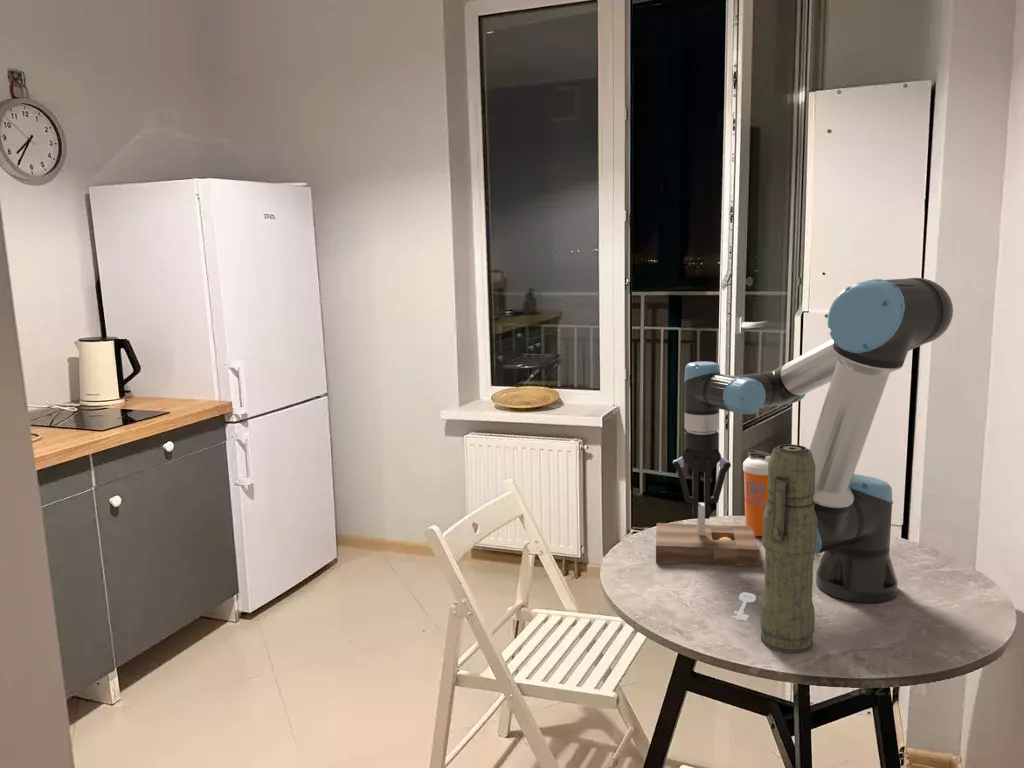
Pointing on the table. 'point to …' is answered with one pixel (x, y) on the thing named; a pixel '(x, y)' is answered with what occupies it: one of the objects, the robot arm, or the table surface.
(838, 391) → the robot arm
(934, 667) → the table surface
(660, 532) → the board
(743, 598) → the key
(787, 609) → the thermos
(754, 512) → the shaker bottle
